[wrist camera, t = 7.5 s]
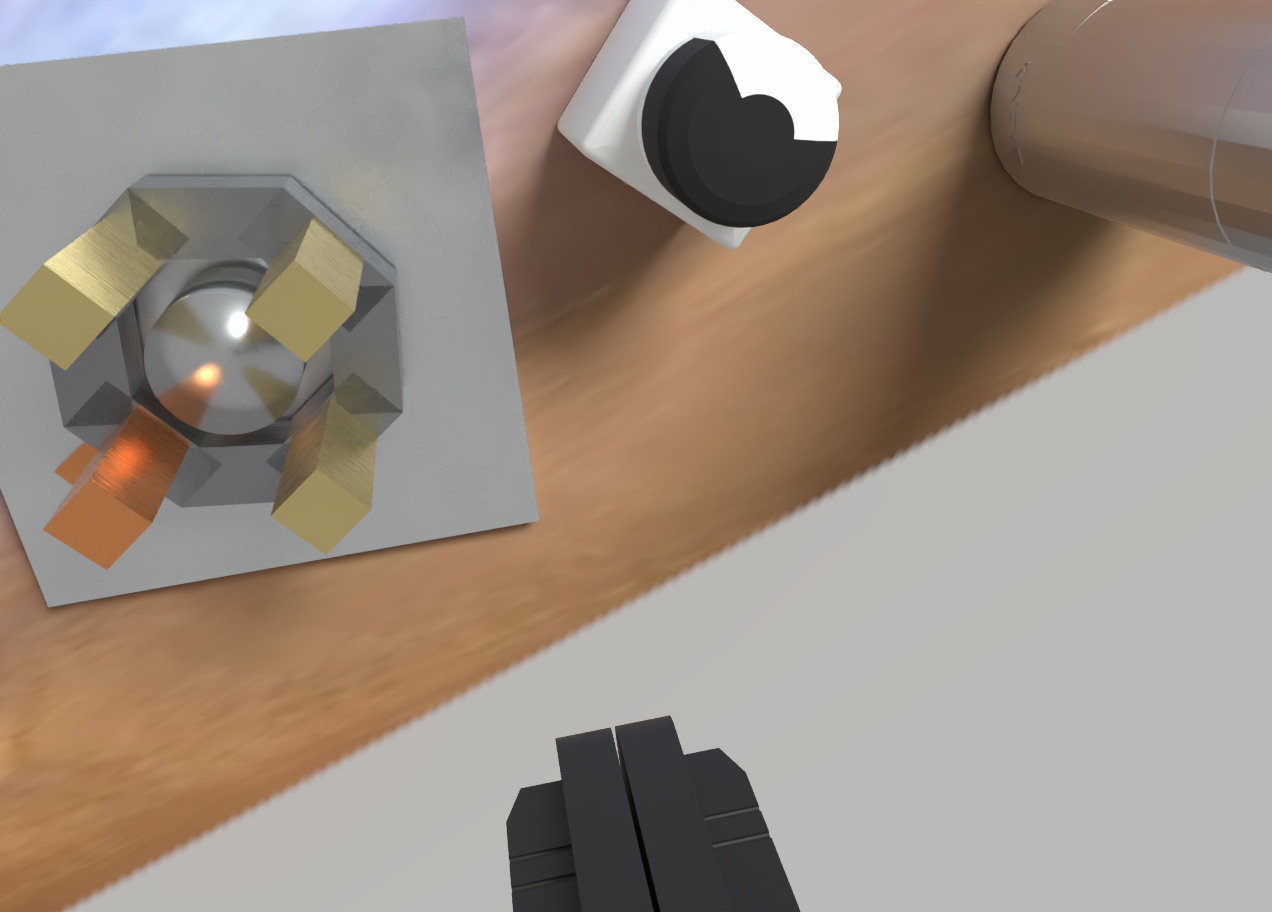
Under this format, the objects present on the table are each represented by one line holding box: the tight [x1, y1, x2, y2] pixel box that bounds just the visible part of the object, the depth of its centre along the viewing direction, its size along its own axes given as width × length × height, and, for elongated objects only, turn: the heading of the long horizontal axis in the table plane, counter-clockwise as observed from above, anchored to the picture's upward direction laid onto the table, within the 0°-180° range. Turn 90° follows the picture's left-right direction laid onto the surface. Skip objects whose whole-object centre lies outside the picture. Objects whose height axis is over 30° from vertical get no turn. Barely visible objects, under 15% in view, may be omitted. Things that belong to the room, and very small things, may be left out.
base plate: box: [0, 16, 540, 607], centre depth 41 cm, size 22×22×5 cm
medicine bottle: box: [557, 0, 842, 250], centre depth 37 cm, size 7×7×12 cm
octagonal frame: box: [0, 176, 403, 570], centre depth 38 cm, size 13×13×9 cm
